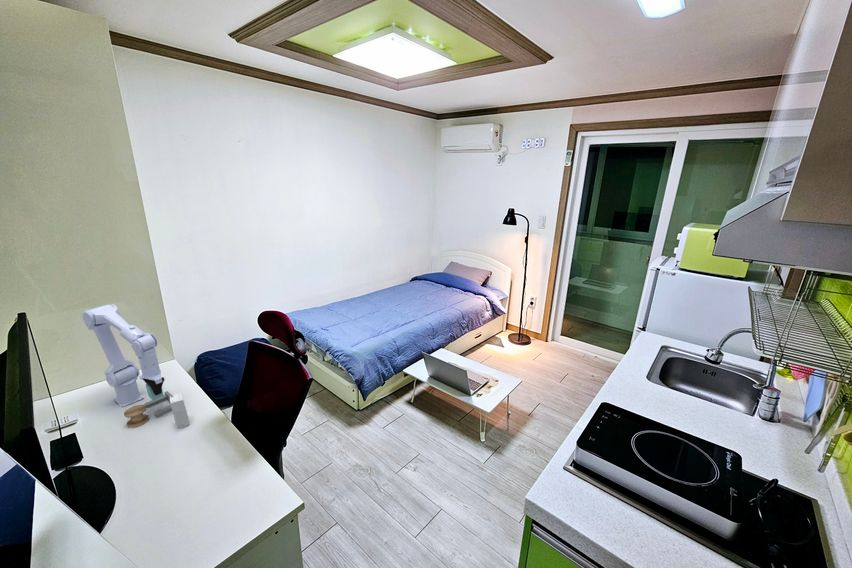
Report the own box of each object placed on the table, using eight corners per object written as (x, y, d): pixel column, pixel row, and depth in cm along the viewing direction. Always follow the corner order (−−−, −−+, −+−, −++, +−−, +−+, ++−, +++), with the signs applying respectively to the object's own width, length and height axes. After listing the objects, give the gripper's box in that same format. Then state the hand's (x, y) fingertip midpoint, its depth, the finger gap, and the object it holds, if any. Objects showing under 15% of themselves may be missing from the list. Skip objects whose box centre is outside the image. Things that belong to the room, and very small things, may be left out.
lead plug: (148, 396, 143) (145, 383, 141) (159, 391, 146) (156, 378, 144) (152, 400, 141) (148, 386, 139) (163, 395, 144) (160, 381, 142)
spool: (124, 422, 139) (121, 411, 137) (145, 413, 144) (142, 402, 142) (130, 430, 135) (127, 418, 133) (152, 420, 140) (149, 408, 139)
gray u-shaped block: (145, 406, 149) (143, 400, 148) (168, 396, 155) (167, 390, 155) (156, 417, 142) (155, 411, 141) (180, 406, 149) (179, 401, 148)
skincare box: (189, 424, 139) (184, 399, 135) (176, 429, 136) (170, 403, 132) (188, 416, 143) (182, 392, 139) (174, 421, 140) (169, 396, 137)
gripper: (130, 361, 140) (138, 390, 144) (143, 373, 132) (151, 403, 136) (151, 355, 146) (157, 382, 150) (165, 366, 138) (171, 395, 142)
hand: (156, 392), depth 143 cm, fingers closed on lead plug, 4 cm apart
